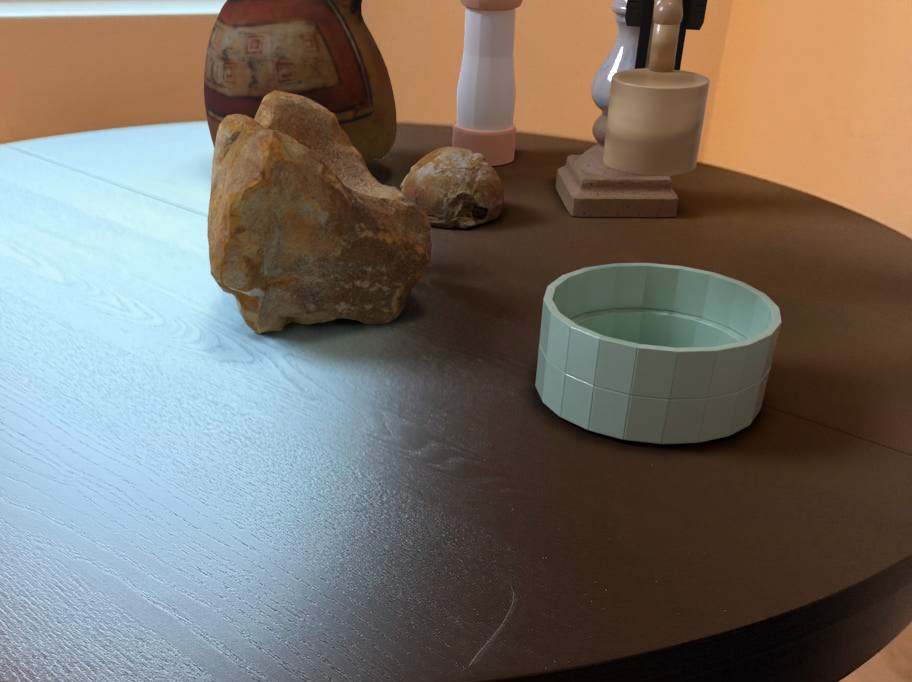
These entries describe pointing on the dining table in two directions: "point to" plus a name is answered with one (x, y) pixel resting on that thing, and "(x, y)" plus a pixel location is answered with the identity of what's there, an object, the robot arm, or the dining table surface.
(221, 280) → the rough brown rock
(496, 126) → the pepper shaker
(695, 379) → the mixing bowl
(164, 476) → the dining table surface
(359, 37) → the reddish ceramic vase
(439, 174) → the bread roll
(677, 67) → the robot arm
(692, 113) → the hooked weight
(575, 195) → the candle holder
